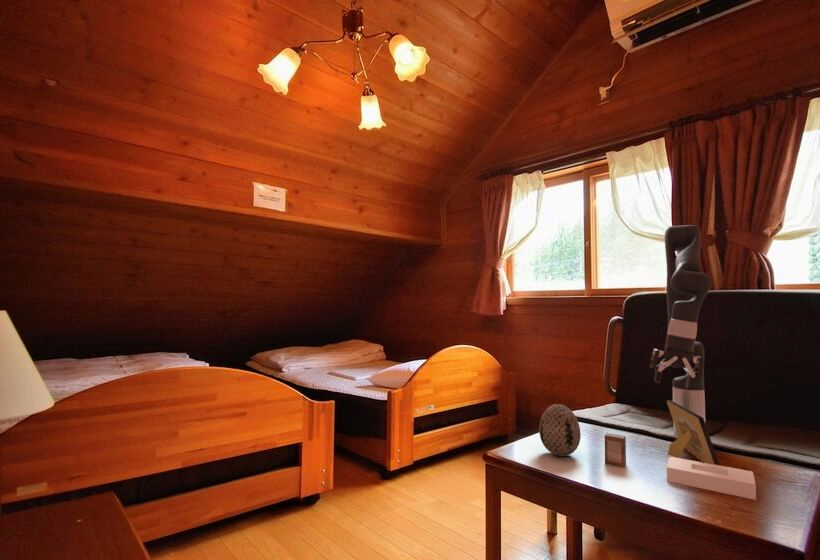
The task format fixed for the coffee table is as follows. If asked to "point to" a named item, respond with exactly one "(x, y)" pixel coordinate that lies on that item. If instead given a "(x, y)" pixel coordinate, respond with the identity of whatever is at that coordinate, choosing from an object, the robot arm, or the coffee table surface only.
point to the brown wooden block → (615, 450)
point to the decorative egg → (559, 430)
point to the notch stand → (712, 477)
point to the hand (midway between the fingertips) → (672, 385)
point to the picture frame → (691, 434)
